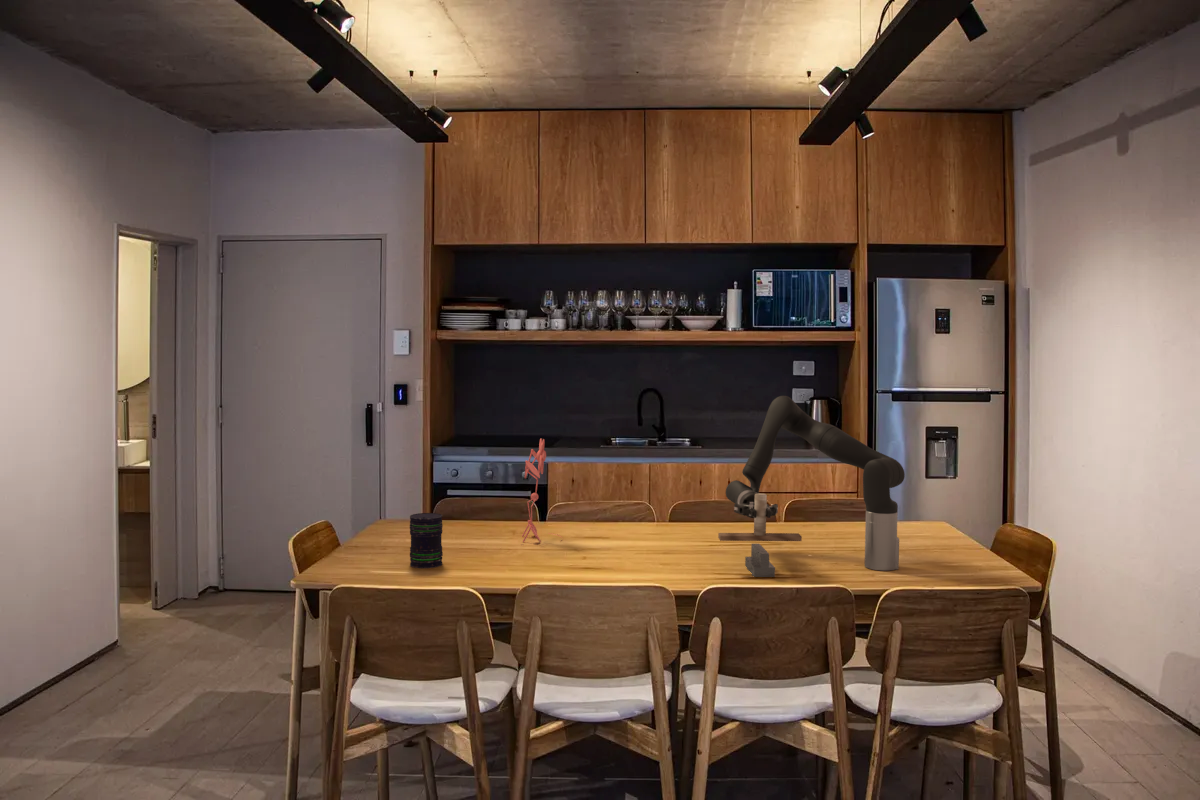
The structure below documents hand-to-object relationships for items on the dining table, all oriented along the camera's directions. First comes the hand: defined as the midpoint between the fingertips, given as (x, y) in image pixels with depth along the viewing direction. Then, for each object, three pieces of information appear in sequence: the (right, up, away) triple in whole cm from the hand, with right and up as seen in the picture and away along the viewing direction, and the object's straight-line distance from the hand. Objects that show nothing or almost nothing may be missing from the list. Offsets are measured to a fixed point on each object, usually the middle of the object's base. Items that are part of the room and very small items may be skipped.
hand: (762, 514), depth 270 cm
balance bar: (0, -8, +3) cm, 9 cm away
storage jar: (-100, -17, +10) cm, 102 cm away
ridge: (0, -18, +4) cm, 18 cm away
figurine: (-67, -15, +48) cm, 84 cm away
